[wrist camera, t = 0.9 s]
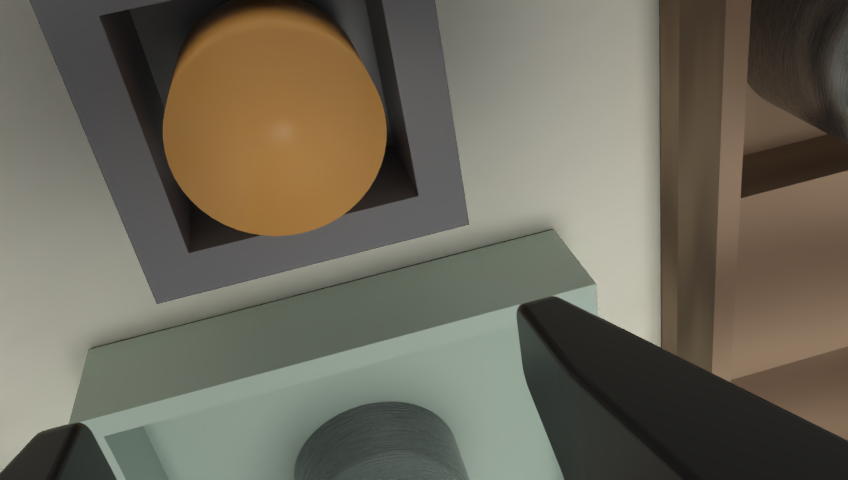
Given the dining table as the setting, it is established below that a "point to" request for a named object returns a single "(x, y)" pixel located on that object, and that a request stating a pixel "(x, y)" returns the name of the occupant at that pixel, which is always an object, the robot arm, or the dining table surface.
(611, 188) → the dining table surface
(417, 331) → the sage tote
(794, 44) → the seated steel billet
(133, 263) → the dining table surface
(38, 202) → the dining table surface
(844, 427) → the walnut pallet
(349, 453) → the cylinder
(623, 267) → the dining table surface
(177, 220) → the button housing
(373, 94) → the button
